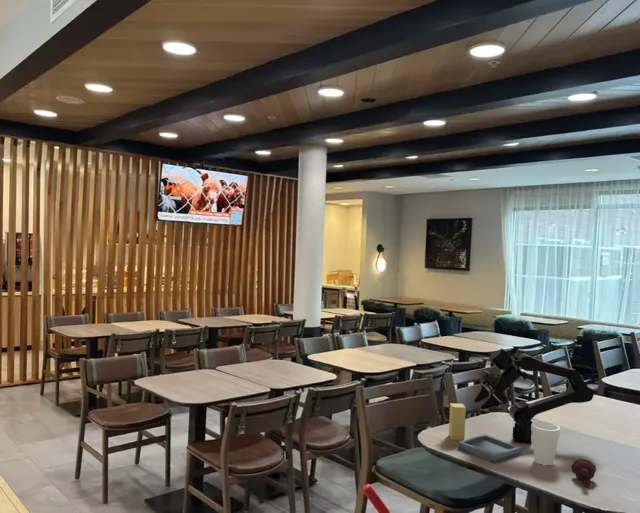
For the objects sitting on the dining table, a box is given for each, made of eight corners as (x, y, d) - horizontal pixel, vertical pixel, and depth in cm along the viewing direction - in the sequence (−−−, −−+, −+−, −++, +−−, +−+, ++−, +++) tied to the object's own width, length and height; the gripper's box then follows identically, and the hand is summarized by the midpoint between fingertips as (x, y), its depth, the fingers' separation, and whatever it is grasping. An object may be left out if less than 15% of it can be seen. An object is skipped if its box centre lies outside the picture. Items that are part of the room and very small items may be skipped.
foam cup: (561, 469, 185) (562, 431, 185) (532, 466, 187) (534, 429, 187) (554, 458, 194) (556, 423, 194) (527, 455, 196) (529, 420, 196)
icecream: (568, 450, 186) (570, 470, 172) (591, 448, 183) (596, 468, 169) (572, 469, 186) (575, 491, 172) (596, 468, 183) (601, 490, 169)
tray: (485, 440, 210) (485, 434, 210) (521, 454, 197) (521, 447, 197) (458, 448, 201) (458, 441, 201) (494, 463, 188) (494, 456, 188)
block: (461, 435, 215) (462, 403, 214) (464, 440, 210) (465, 407, 209) (448, 435, 215) (450, 403, 215) (451, 439, 210) (452, 407, 210)
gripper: (486, 358, 221) (458, 384, 221) (500, 369, 202) (470, 397, 202) (504, 378, 221) (476, 403, 221) (520, 390, 202) (490, 418, 202)
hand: (477, 405), depth 212 cm, fingers open, 9 cm apart
